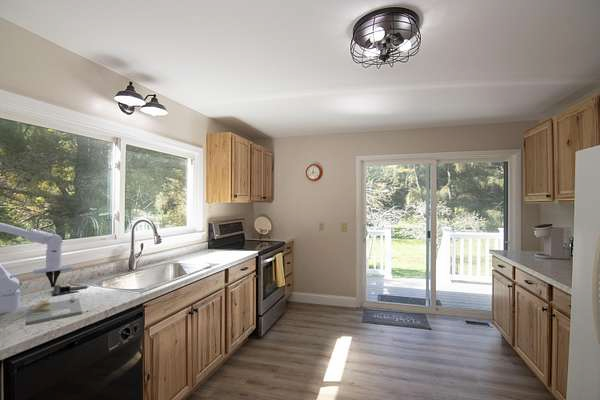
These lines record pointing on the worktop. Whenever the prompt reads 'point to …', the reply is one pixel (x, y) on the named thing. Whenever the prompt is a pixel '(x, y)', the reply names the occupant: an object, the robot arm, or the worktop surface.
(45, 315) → the slate board
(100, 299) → the worktop surface
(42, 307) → the birch block
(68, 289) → the door handle
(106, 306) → the worktop surface
